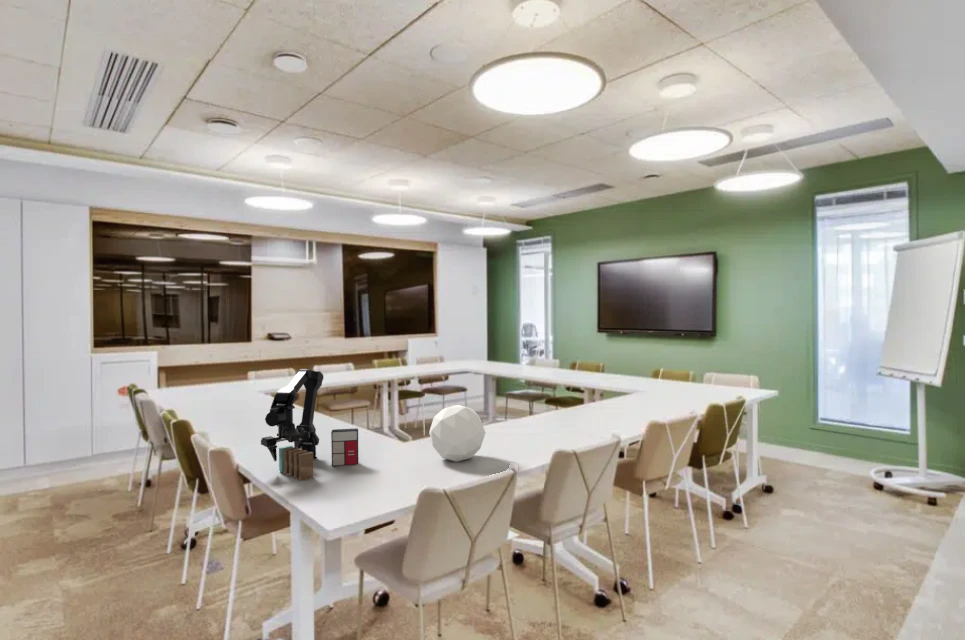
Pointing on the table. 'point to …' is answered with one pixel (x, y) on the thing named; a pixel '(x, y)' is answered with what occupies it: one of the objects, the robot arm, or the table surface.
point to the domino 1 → (282, 457)
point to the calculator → (344, 447)
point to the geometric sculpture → (457, 433)
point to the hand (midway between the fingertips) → (286, 458)
